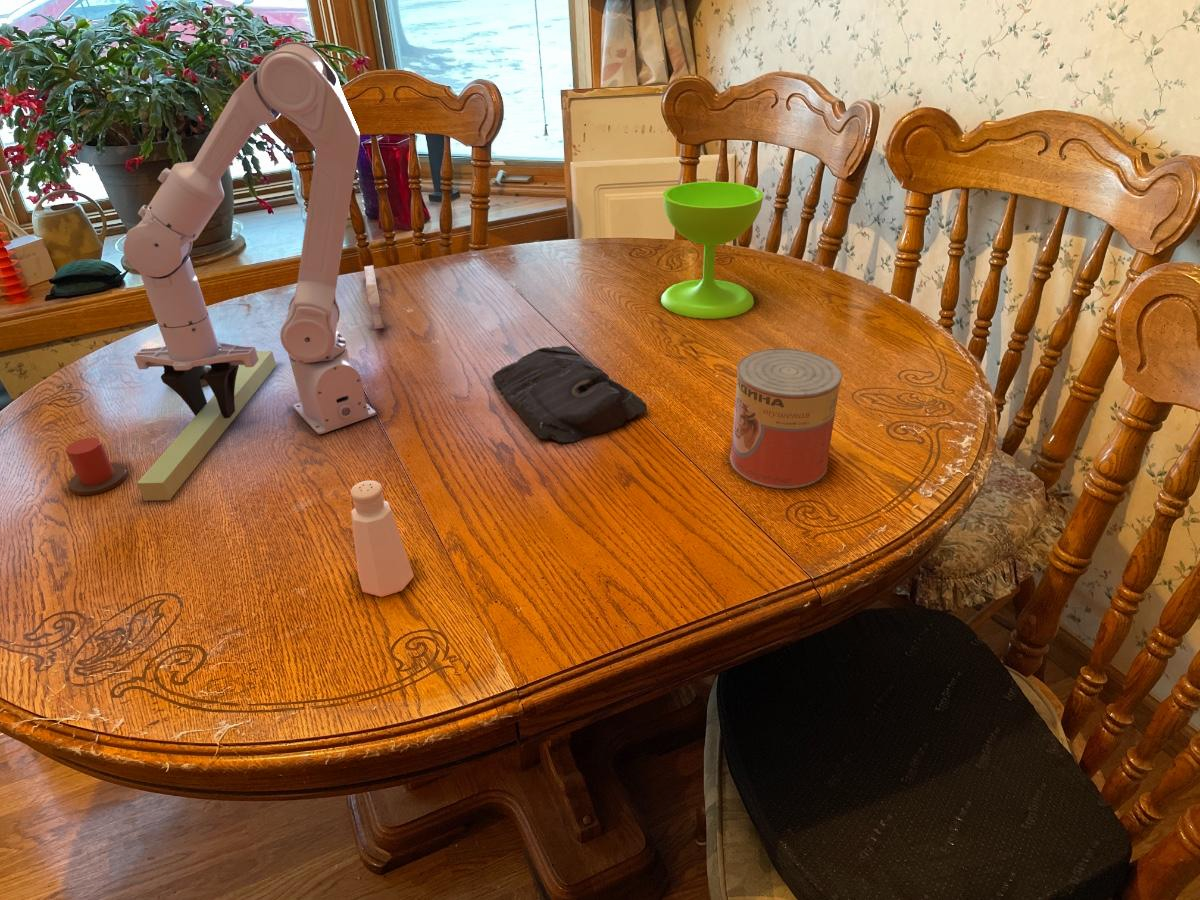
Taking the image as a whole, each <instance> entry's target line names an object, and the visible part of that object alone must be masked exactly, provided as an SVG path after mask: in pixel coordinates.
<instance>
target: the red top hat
mask: <svg viewBox="0 0 1200 900" xmlns="http://www.w3.org/2000/svg"><path fill="white" fill-rule="evenodd" d="M65 453H66V456H67V457H68V459H69V461H70V464H71V466H72V468H73V471H74V472H75V475H73V476H72V477H71V479H70V480H69V482H68V488H69V490H70V491H71V493H72V494H74V495H77V496H84V497H85V496H86V497H87V496H94V495H99V494H102V493H106V492H109V491H110V490H111V491H112V490H113V489H115V488H116V487H118V486H119V485H121V484H122V483H123V482H124V481H125V480H126V478H127V477H128V470H127V468H126V467H125V466H124V464H122V463H119V462H118V463H117V462H111V460H110V458H109V456H108V453H107V452H106V449H105V447H104V445H103V442H102V440H101V438H98V437H95V436H94V437H93V436H92V437H84V438H81V439H77V440H75V441H73V442H71V443H70V444H68V445H67V447H66V448H65Z"/></svg>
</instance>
